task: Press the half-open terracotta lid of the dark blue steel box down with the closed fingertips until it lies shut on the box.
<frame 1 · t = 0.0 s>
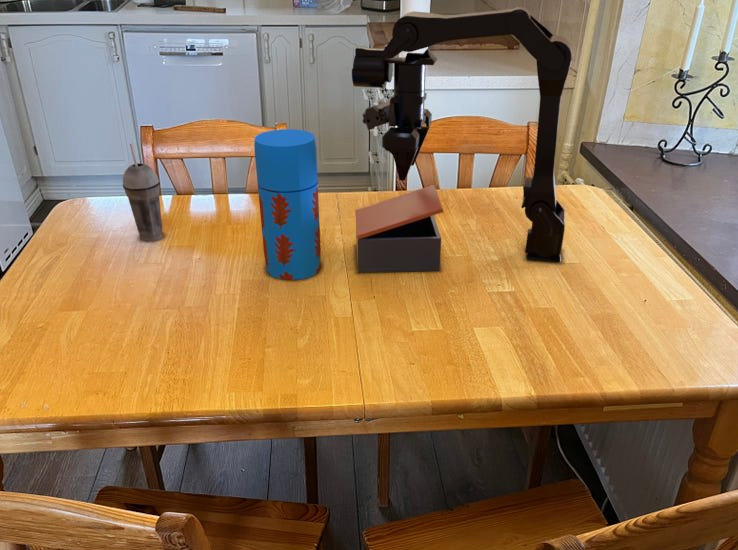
hand: (406, 172, 135), 15 cm above the table, tool pointing down, fingers open, 9 cm apart
beverage cup: (151, 237, 146), on the table
thermos: (293, 268, 133), on the table
box: (396, 257, 137), on the table
lid: (397, 211, 131), point 10 cm above the table, hinge at 18.0°
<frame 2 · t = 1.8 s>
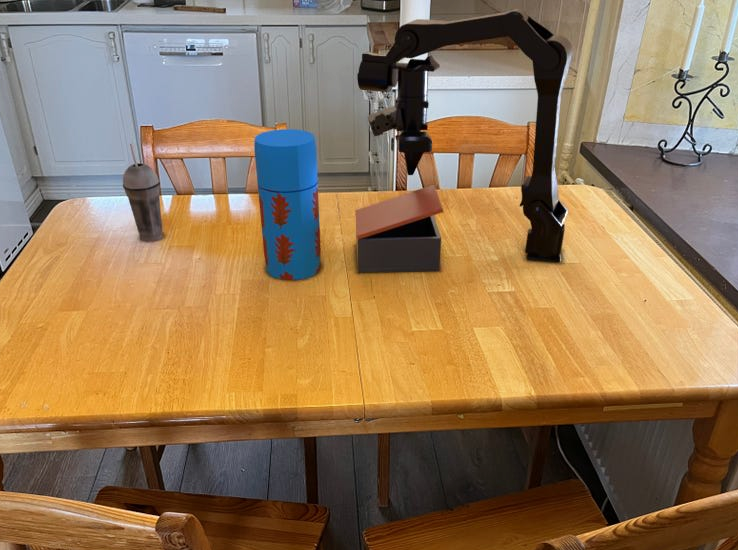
hand: (410, 174, 139), 13 cm above the table, tool pointing down, fingers closed
nothing on the table moved.
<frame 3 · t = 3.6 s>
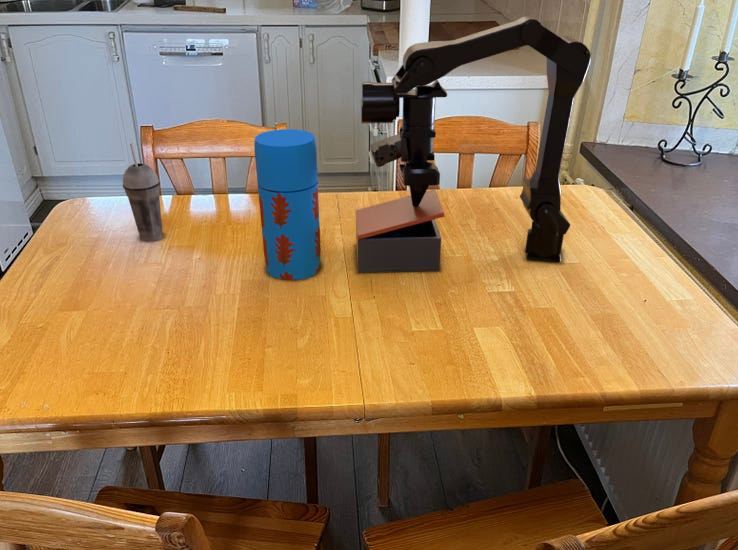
hand: (415, 206, 131), 11 cm above the table, tool pointing down, fingers closed, pressing on lid
lid: (398, 213, 132), point 9 cm above the table, hinge at 14.8°, touching gripper
everything else where it was.
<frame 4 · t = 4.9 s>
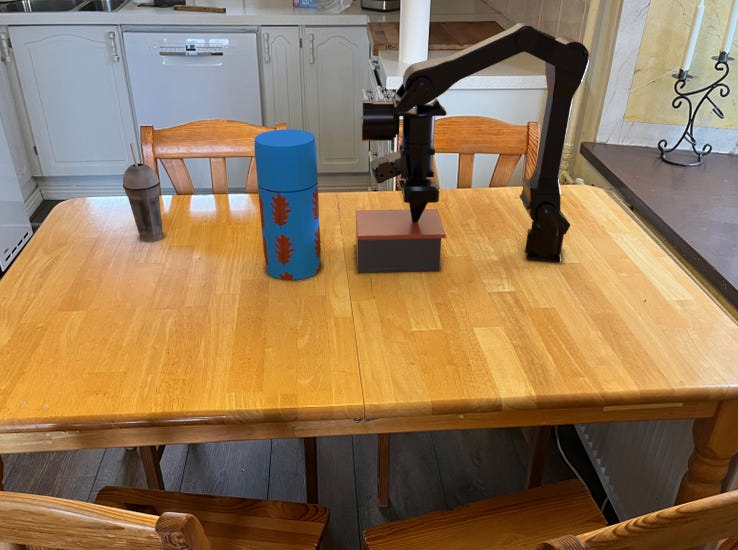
hand: (414, 221, 133), 8 cm above the table, tool pointing down, fingers closed, pressing on lid
lid: (399, 223, 133), point 7 cm above the table, hinge at -0.2°, touching box, gripper
everything else where it was.
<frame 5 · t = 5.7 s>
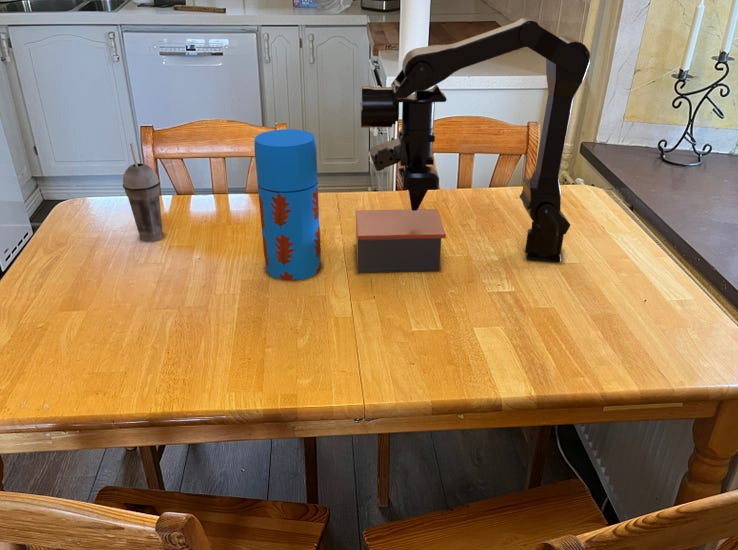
hand: (414, 209, 131), 10 cm above the table, tool pointing down, fingers closed
lid: (399, 223, 133), point 7 cm above the table, hinge at -0.2°, touching box
everything else where it was.
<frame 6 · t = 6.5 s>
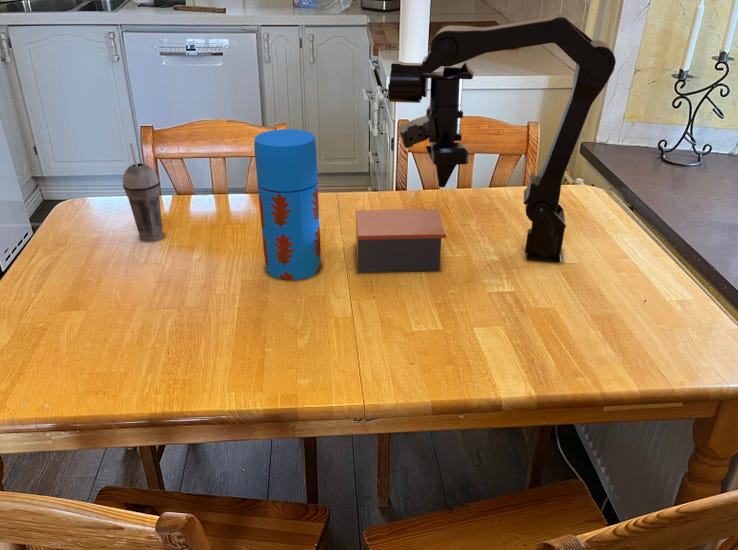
hand: (441, 186, 134), 13 cm above the table, tool pointing down, fingers closed
nothing on the table moved.
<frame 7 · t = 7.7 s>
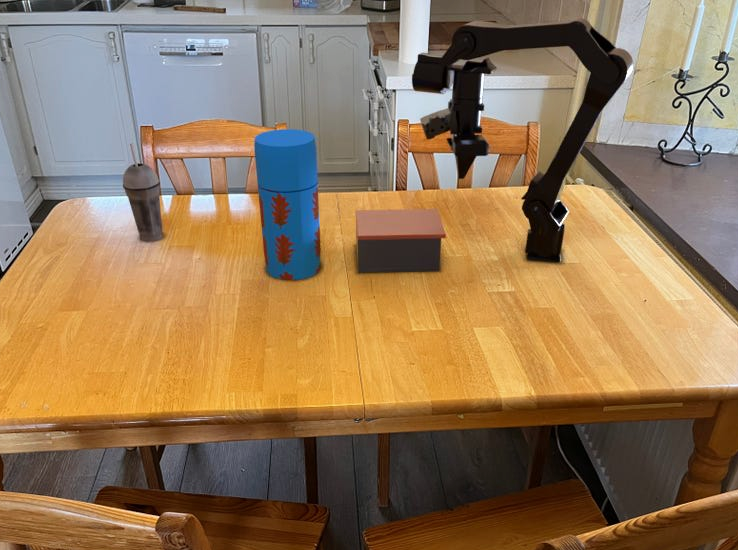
hand: (461, 178, 137), 13 cm above the table, tool pointing down, fingers closed
nothing on the table moved.
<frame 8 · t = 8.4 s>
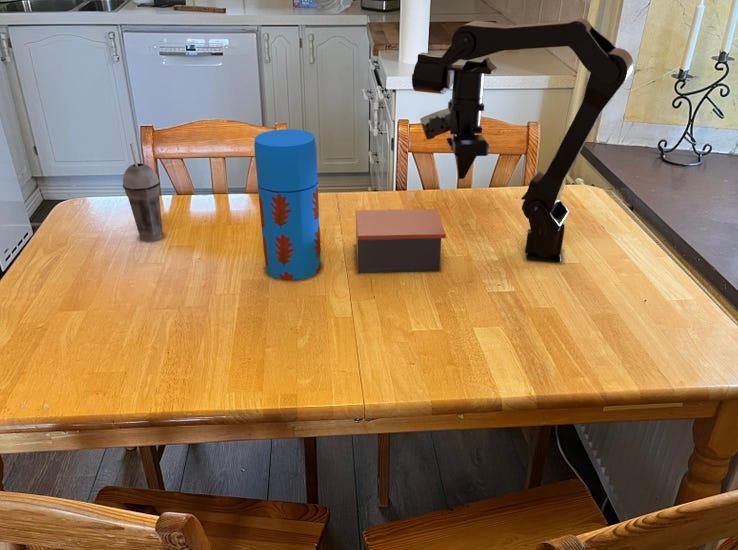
hand: (461, 178, 137), 13 cm above the table, tool pointing down, fingers closed
nothing on the table moved.
at the end: lid at +0° (first picture: +18°); thermos moved 0.2 cm from its start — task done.
